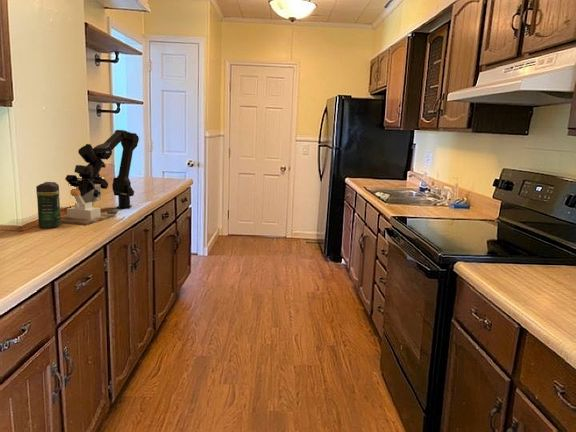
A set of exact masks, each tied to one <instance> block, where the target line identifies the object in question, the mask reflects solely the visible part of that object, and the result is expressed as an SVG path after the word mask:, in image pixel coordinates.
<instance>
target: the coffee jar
mask: <svg viewBox="0 0 576 432" xmlns="http://www.w3.org/2000/svg"><path fill="white" fill-rule="evenodd" d="M35 190H36V198H37V219H38V222H37V223H38V228H42V229H43V228H44V229H50V228H57V227H59V226H60V225H62V223H61V217H62V216H61V203H60V202H61V201H60V200H61V199H60V185H59V184H58V183H57V182H55V181H45V182H43V183H40V184H38V185H36V189H35Z"/></svg>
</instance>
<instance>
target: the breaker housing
mask: <svg viewBox="0 0 576 432" xmlns="http://www.w3.org/2000/svg"><path fill="white" fill-rule="evenodd" d="M101 213H102V212H101V208H100V207H95V206H93V207H92V202H89V203H85V204H83V208H81V207H80V205H79V204H78V203H75V207H71V208H70V207H67V208H66V215H67V217H71V218H81V219H94V218H97V217H100V216H101Z"/></svg>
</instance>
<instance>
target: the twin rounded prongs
mask: <svg viewBox="0 0 576 432" xmlns="http://www.w3.org/2000/svg"><path fill="white" fill-rule="evenodd" d="M118 212H119V211H118V209H117V208H114V209H111V210H108V211H107V212H106V214H115V215H116V214H117V213H118Z"/></svg>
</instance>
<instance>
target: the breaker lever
mask: <svg viewBox="0 0 576 432" xmlns="http://www.w3.org/2000/svg"><path fill="white" fill-rule="evenodd" d="M69 193H70V196H71V195H72V196H74V197H75V199H76V200H77V202H78V204H79V205H80V207H81V208H83V204H85V202H84V200H83V199H82V197H81V195H80V193H81V192H80V191H79V190H77V189H72V190H70V192H69Z"/></svg>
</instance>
